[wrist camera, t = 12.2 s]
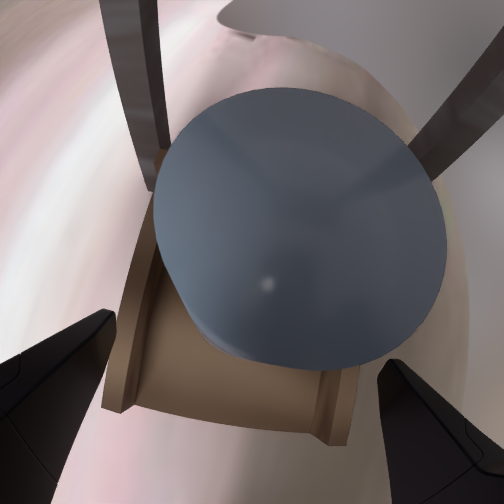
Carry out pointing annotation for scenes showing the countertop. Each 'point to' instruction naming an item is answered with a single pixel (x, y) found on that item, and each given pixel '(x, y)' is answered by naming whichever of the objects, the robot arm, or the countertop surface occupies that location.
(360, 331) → the blue-grey tall cylinder
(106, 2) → the shelf bay
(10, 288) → the countertop surface
